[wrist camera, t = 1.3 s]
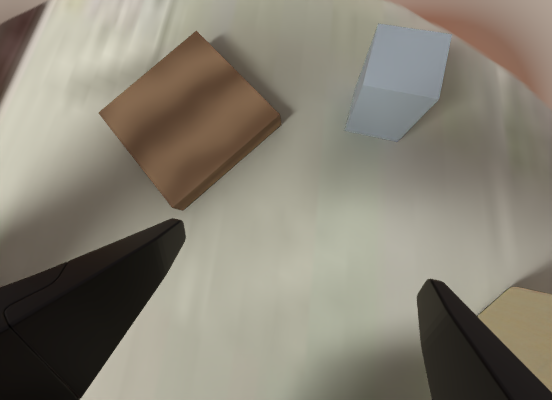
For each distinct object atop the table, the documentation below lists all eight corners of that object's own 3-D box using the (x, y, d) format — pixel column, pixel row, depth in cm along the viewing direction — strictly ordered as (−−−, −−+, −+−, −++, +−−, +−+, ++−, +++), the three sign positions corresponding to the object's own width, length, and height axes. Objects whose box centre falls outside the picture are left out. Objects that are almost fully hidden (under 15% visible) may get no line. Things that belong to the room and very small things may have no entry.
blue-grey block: (397, 141, 23) (439, 99, 16) (344, 130, 23) (362, 85, 17) (407, 94, 23) (451, 34, 17) (356, 85, 24) (378, 23, 17)
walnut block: (281, 124, 24) (279, 114, 22) (182, 210, 24) (172, 207, 22) (204, 46, 27) (196, 30, 25) (113, 122, 26) (98, 112, 24)
